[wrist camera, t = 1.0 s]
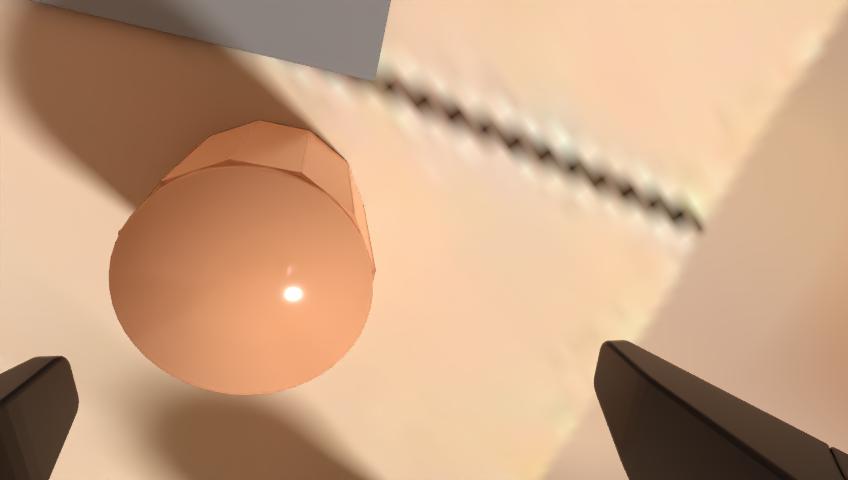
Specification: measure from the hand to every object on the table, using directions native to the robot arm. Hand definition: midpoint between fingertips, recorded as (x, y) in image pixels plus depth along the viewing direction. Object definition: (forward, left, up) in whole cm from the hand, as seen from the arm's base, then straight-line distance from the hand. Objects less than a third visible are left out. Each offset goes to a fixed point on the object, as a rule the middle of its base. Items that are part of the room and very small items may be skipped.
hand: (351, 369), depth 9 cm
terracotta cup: (-2, -2, -13) cm, 14 cm away
